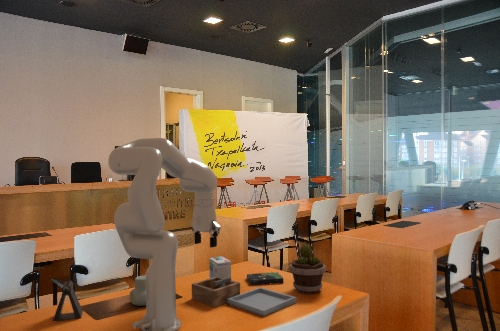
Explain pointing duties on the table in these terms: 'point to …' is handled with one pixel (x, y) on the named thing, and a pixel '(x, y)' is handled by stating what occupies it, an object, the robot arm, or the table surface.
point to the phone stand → (74, 302)
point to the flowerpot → (307, 271)
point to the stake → (222, 281)
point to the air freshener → (139, 291)
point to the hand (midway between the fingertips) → (205, 245)
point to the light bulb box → (219, 267)
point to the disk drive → (264, 278)
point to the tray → (261, 301)
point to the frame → (214, 291)
